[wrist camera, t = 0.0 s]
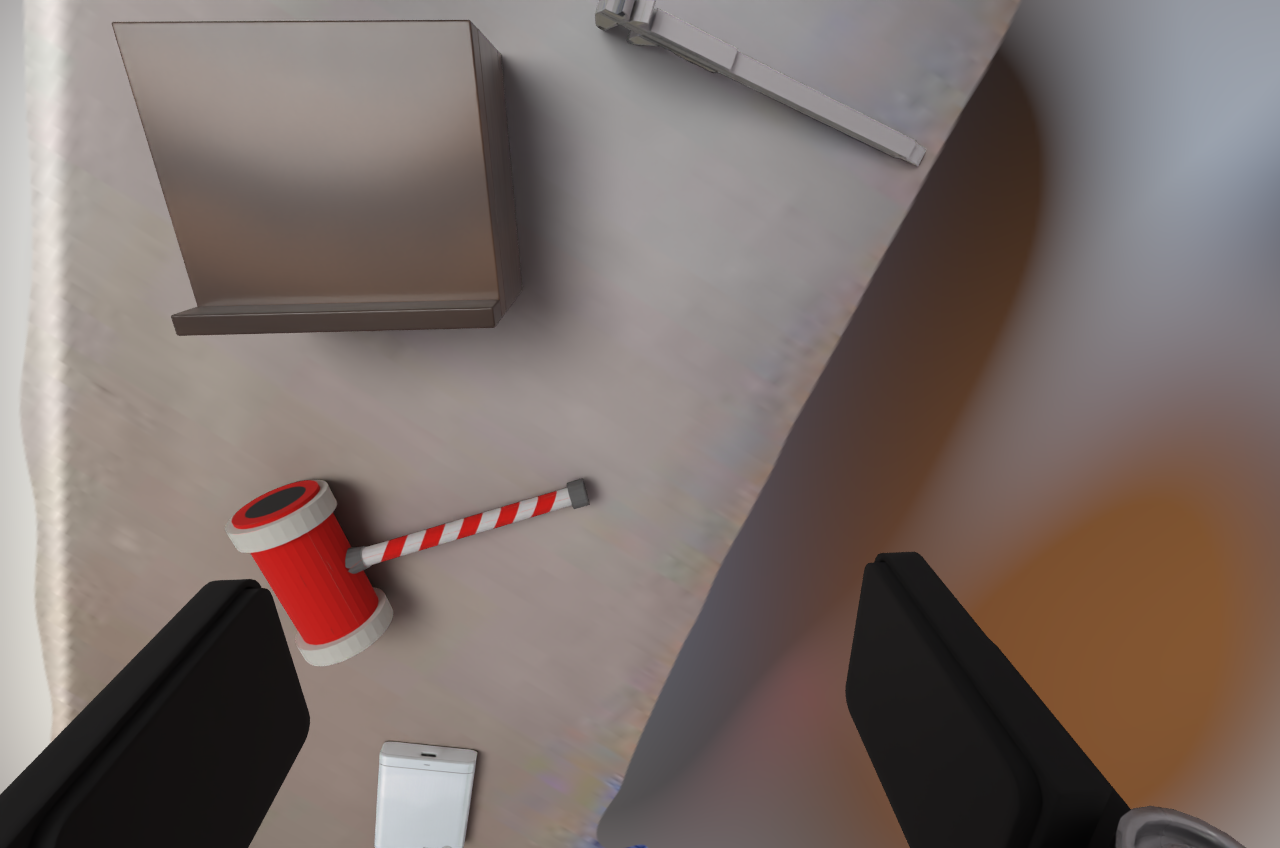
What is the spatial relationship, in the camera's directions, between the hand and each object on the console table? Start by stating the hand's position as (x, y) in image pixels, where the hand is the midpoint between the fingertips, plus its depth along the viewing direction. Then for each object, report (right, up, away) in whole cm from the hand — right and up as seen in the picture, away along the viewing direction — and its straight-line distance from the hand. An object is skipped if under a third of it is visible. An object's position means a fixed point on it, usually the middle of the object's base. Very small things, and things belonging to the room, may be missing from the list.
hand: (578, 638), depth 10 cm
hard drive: (-19, -31, +46) cm, 59 cm away
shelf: (-14, +18, +26) cm, 34 cm away
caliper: (+8, +23, +25) cm, 35 cm away
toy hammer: (-16, -4, +35) cm, 39 cm away
